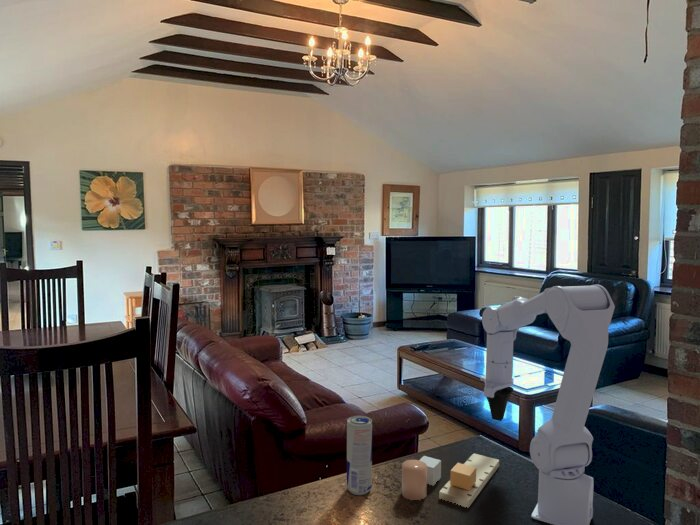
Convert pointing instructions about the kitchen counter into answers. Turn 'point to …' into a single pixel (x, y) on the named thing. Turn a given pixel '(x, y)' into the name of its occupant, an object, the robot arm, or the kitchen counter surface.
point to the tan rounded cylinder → (414, 480)
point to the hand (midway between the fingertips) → (497, 419)
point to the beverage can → (359, 455)
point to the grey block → (432, 469)
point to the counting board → (483, 474)
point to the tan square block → (463, 476)
